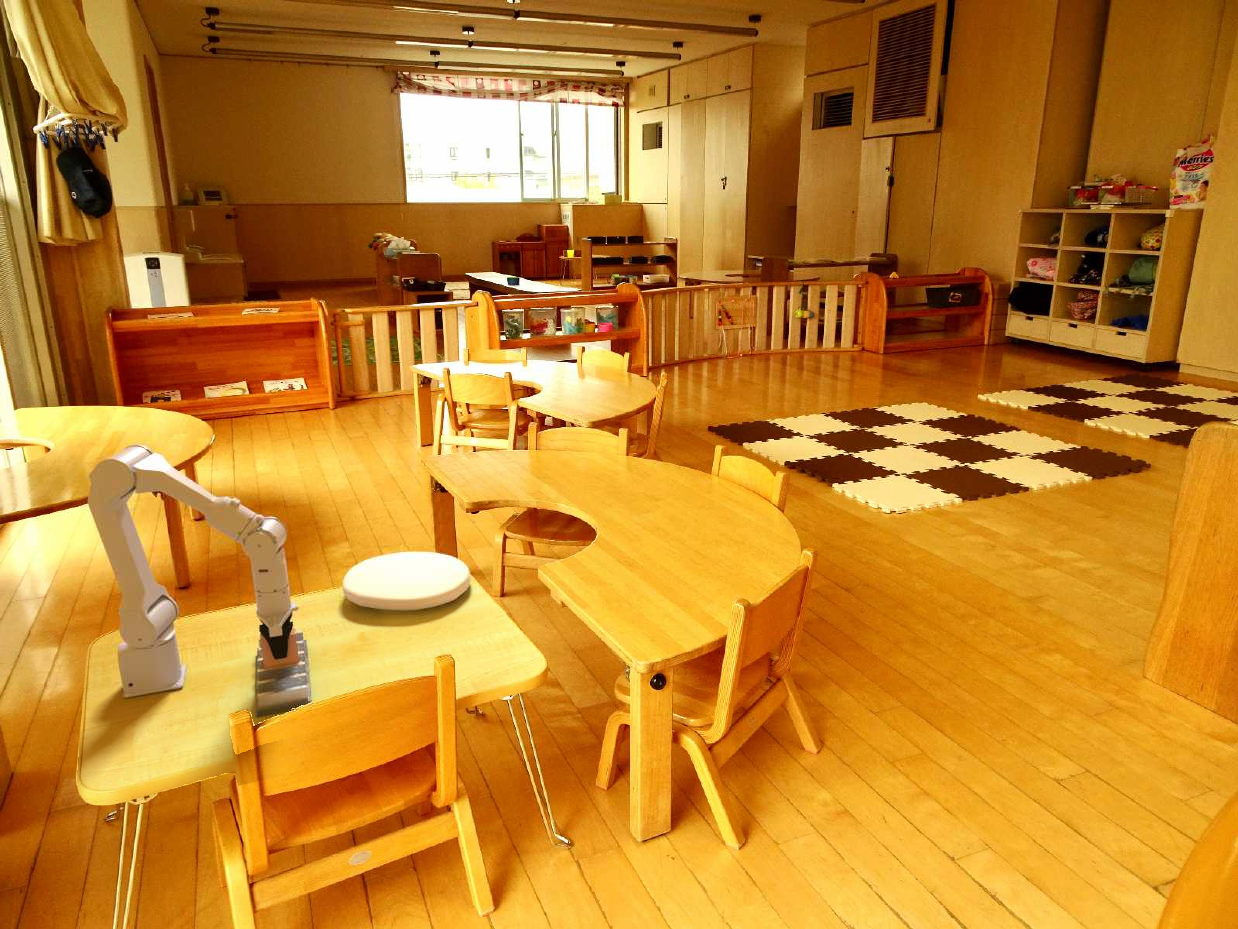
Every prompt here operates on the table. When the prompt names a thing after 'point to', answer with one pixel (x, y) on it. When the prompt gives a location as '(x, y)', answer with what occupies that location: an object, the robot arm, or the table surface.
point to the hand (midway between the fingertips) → (280, 653)
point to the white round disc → (406, 581)
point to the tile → (290, 659)
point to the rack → (283, 683)
